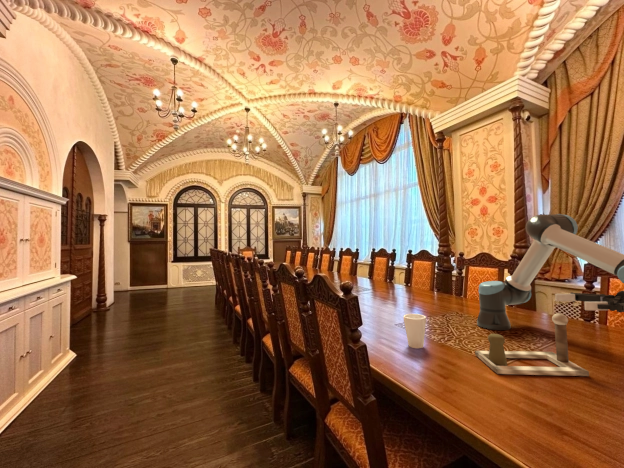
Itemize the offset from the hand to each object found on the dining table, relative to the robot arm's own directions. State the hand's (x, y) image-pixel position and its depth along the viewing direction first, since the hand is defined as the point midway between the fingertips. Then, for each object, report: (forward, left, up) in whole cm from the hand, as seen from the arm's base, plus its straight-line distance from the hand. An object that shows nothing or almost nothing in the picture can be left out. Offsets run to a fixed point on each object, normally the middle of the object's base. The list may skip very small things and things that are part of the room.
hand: (569, 301), depth 101 cm
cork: (-13, -22, -23) cm, 34 cm away
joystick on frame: (-8, -13, -23) cm, 28 cm away
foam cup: (-41, -34, -23) cm, 58 cm away
